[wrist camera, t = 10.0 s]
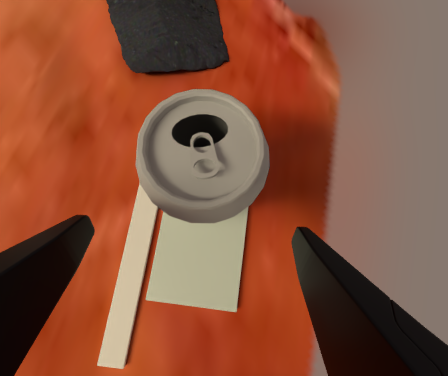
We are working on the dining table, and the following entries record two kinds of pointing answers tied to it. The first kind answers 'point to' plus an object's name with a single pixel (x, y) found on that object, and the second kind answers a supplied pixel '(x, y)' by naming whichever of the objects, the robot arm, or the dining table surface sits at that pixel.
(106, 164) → the dining table surface
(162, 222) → the pad
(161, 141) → the can
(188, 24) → the dark slate chunk
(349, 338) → the robot arm
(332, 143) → the dining table surface
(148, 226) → the strip
